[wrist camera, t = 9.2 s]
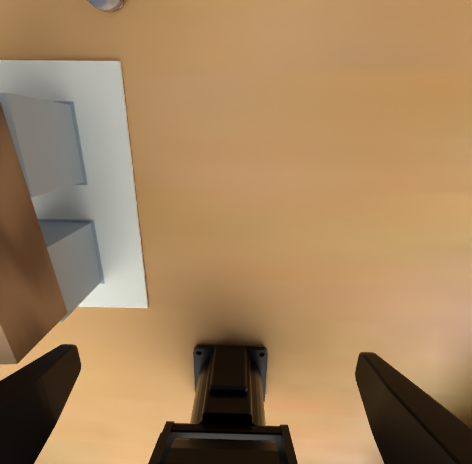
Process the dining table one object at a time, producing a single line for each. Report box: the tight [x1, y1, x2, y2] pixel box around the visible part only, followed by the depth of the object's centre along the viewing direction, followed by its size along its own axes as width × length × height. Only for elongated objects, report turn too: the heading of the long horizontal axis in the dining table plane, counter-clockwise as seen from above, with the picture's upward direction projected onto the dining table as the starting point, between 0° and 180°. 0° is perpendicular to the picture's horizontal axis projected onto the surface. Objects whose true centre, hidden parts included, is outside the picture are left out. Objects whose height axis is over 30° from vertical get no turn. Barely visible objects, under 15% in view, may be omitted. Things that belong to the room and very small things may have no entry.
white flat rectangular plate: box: [0, 60, 149, 308], centre depth 20 cm, size 18×12×1 cm, turn 179°
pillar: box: [39, 222, 101, 322], centre depth 19 cm, size 5×5×5 cm
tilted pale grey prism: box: [0, 93, 84, 197], centre depth 16 cm, size 5×5×5 cm
